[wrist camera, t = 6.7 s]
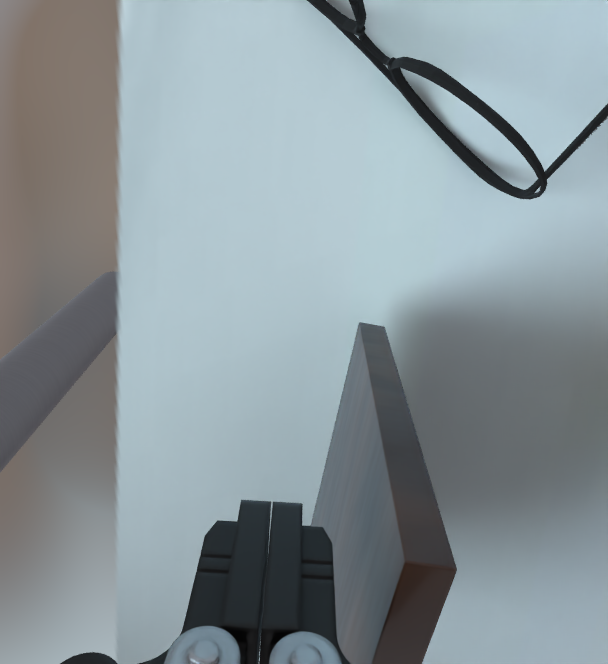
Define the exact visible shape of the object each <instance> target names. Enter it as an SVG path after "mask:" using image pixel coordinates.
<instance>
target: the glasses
mask: <svg viewBox="0 0 608 664" xmlns="http://www.w3.org/2000/svg"><path fill="white" fill-rule="evenodd" d="M307 1H309V2H310V3H311V4H312V5H313V6H314V7H315V8H317V9H318V10H319V11H320V12H321V13H322V14H324V15H325V16H326V17H327V18H328V19H330V20H331V21H332V22H333V23H334V24H335V25H336V26H337V27H338V28H339V29H340V30H341V31H342V32H343V33H344V34H345V35H346V36H347V37H348V38H349V39H350V40H351V41H352V42H353V43H354V44H355V45H356V46H357V47H358V48H359V49H360V50H361V51H362V52H363V53H364V54H365V55H366V56H367V57H368V58H369V59H370V60H371V61H372V62H373V64H374V65H375V66H376V67H377V68H378V69H379V70H380V71H381V72H382V73H383V74H384V75H385V76H386V77H387V78H388V79H389V80H390V81H391V82H392V84H393V85H394V86H395V87H396V88H397V89H398V90H399V91H400V92H401V93H402V94H403V96H404V97H405V98H406V99H407V101H408V102H409V103H410V104H411V106H412V107H413V108H414V109H415V110H416V112H417V113H418V114H419V115H420V116H421V117H422V118H423V120H424V121H425V122H426V123H427V124H428V125H429V126H430V127H431V128H432V129H433V130H434V132H435V133H436V134H437V135H438V136H439V137H440V138H441V139H442V140H443V141H444V142H445V143H446V144H447V145H448V146H449V147H450V148H451V149H452V151H453V152H454V153H455V154H456V155H457V156H458V157H459V158H460V159H461V160H462V161H463V162H464V163H465V164H466V165H467V166H468V167H469V168H470V169H471V170H473V171H474V172H475V173H476V174H477V175H478V176H479V177H480V178H482V179H483V180H484V181H485V182H487V183H488V184H490V185H491V186H493V187H495V188H496V189H498V190H500V191H502V192H504V193H506V194H509V195H511V196H514V197H517V198H520V199H533V198H537V197H540V196H541V195H542V194H543V192H544V191H545V189H546V186H547V179H548V178H549V177H550V176H551V175H552V174H553V173H554V172H555V171H556V170H557V169H558V168H559V167H560V166H561V165H562V164H563V163H564V162H565V161H566V160H567V159H568V158H569V157H570V156H571V154H572V153H573V152H574V151H575V150H576V149H578V147H579V146H581V144H583V143H584V142H585V141H586V139H587V138H589V136H590V134H591V135H592V133H593V132H594V131H596V130H597V127H599V126H601V125H600V124H601V123H603V122H604V121H605V120H606V119H607V117H608V104H607V105H606V106H605V107H604V108H603V109H602V110H601V111H600V112H599V114H598V115H597V116H596V117H595V118H594V119H593V120H592V121H591V122H590V123H589V124H588V126H587V127H586V128H585V129H584V130H583V131H582V132H581V133H580V134H579V135H578V136H577V137H576V139H575V140H574V141H573V142H572V143H571V144H570V145H569V146H568V147H567V148H566V149H565V150H564V152H563V153H562V154H561V155H560V156H559V157H558V158H557V159H556V160H555V161H554V162H553V163H552V165H551V166H550V167H549V168H548V169H547V170H546V171H545V172H544V170H543V167H542V165H541V163H540V161H539V160H538V158H537V156H536V155H535V153H534V152H533V150H532V149H531V148H530V146H529V145H528V144H527V142H526V141H525V140H524V139H523V137H522V136H521V135H520V134H519V133H518V132H517V131H516V130H515V129H514V128H513V127H512V126H511V125H510V124H509V123H508V122H507V121H506V120H504V119H503V118H502V117H501V116H500V115H499V114H498V113H497V112H495V111H494V110H493V109H492V108H491V107H489V106H488V105H487V104H486V103H484V102H483V101H482V100H481V99H479V98H478V97H477V96H476V95H474V94H473V93H472V92H470V91H469V90H468V89H467V88H465V87H464V86H463V85H461V84H460V83H459V82H458V81H456V80H455V79H453V78H452V77H451V76H449V75H448V74H447V73H445V72H444V71H443V70H441V69H439V68H437V67H435V66H433V65H431V64H429V63H427V62H424V61H420V60H416V59H413V58H409V57H401V58H397V59H396V58H394V57H393V58H391V59H390V58H389V57H387V56H386V55H385V54H384V53H383V52H381V51H380V50H379V49H378V48H377V47H376V46H375V45H374V44H373V42H372V41H371V40H370V39H369V38H368V37H367V35H366V34H365V32H364V31H365V26H364V24H365V20H366V12H365V7H364V3H363V0H349V2H350V4H351V7H352V10H353V13H354V15H355V18H356V21H354V20H352V19H349V18H348V17H346V16H345V15H343V14H342V13H340V12H339V11H338V10H337V9H335V8H334V7H333V6H332V5H330V4H329V3H328V2H327V1H326V0H307ZM354 34H355V35H358V36H359V39H360V40H359V39H358V38H357V37H356V36H355V35H354ZM384 64H385V65H387V66H388V68H387V67H386V66H385V65H384ZM400 67H401V68H403V69H406V70H408V71H411V72H413V73H416V74H418V75H420V76H422V77H424V78H426V79H428V80H430V81H432V82H434V83H436V84H437V85H439V86H441V87H443V88H444V89H446V90H448V91H449V92H451V93H452V94H453V95H455V96H456V97H458V98H459V99H460V100H462V101H463V102H465V103H466V104H467V105H469V106H470V107H472V108H473V109H474V110H475V111H477V112H478V113H479V114H480V115H482V116H483V117H484V118H485V119H486V120H488V121H489V122H490V123H491V124H492V125H493V126H494V127H496V128H497V129H498V130H499V131H500V132H501V133H502V134H503V135H504V136H505V137H506V138H507V139H508V140H509V141H510V142H511V143H512V144H513V145H514V146H515V147H516V148H517V149H518V150H519V152H520V153H521V154H522V155H523V156H524V157H525V158H526V160H527V161H528V163H529V164H530V165H531V167H532V168H533V170H534V171H535V173H536V175H537V177H538V180H537V181H536V182H535V183H534V184H533V185H532V186H531V187H529V188H528V189H526V190H522V189H519V188H517V187H514V186H512V185H510V184H509V183H508V182H506V181H505V180H503V179H502V178H501V177H499V176H498V175H497V174H496V173H495V172H493V171H492V170H491V169H490V168H489V167H488V166H486V165H485V164H484V163H483V162H482V161H481V160H480V159H479V158H478V157H477V156H475V155H474V154H473V153H472V152H471V151H470V150H469V149H468V148H467V147H466V146H465V145H464V144H463V143H462V142H461V141H460V140H459V139H458V138H457V137H456V136H455V135H454V134H453V133H452V132H451V131H450V130H448V129H447V128H446V126H445V125H444V124H443V123H442V122H441V121H440V120H439V119H438V118H437V117H436V116H435V114H434V113H433V112H432V111H431V110H430V109H429V108H428V107H427V106H426V104H425V103H424V102H423V101H422V100H421V99H420V97H419V96H418V95H417V94H416V93H415V91H414V90H413V89H412V87H411V86H410V85H409V83H408V82H407V81H406V79H405V78H404V76H403V74H402V72H401V69H400ZM388 69H389V70H388ZM540 186H541V188H540V191H539V192H537V193H535V192H536V190H537V189H538V188H539V187H540Z"/></svg>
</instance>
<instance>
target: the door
mask: <svg viewBox="0 0 608 664" xmlns="http://www.w3.org/2000/svg"><path fill="white" fill-rule="evenodd" d="M311 526H315V527H323V528H324V530H325V531H326V533H327V535H328V537H329V538H330V540H331V542H332V546H333V567H334V588H335V609H336V630H337V641H338V644H339V647H340V649H341V651H342V653H343V655H344V656H345V658H346V659H347V660H348V661H349V662H350V663H351V664H422V661H423V659H424V656H425V653H426V651H427V648H428V645H429V643H430V640H431V638H432V635H433V632H434V630H435V627H436V624H437V622H438V619H439V616H440V614H441V611H442V608H443V606H444V603H445V600H446V598H447V595H448V592H449V590H450V587H451V584H452V582H453V579H454V577H455V574H456V571H457V568H456V564H455V561H454V558H453V554H452V551H451V548H450V544H449V541H448V538H447V534H446V531H445V528H444V524H443V521H442V518H441V514H440V511H439V508H438V504H437V501H436V497H435V494H434V491H433V487H432V484H431V481H430V477H429V474H428V471H427V467H426V464H425V461H424V457H423V454H422V451H421V447H420V444H419V441H418V437H417V434H416V431H415V427H414V424H413V420H412V417H411V414H410V410H409V407H408V404H407V400H406V397H405V394H404V390H403V387H402V384H401V380H400V377H399V374H398V370H397V367H396V364H395V360H394V357H393V354H392V350H391V347H390V343H389V340H388V337H387V333H386V330H385V327H382V326H377V325H371V324H366V323H359V325H358V329H357V334H356V338H355V342H354V346H353V350H352V355H351V359H350V363H349V367H348V371H347V376H346V380H345V384H344V388H343V392H342V397H341V401H340V405H339V409H338V413H337V418H336V422H335V426H334V430H333V434H332V439H331V443H330V447H329V451H328V455H327V460H326V464H325V468H324V472H323V476H322V481H321V485H320V489H319V493H318V497H317V501H316V506H315V510H314V514H313V518H312V522H311Z"/></svg>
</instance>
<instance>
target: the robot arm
mask: <svg viewBox="0 0 608 664" xmlns="http://www.w3.org/2000/svg"><path fill="white" fill-rule="evenodd" d="M270 511H271V502H268V501H252V500H241V504H240V510H239V516H238V522H232V521H217V522H216V523H215V524H214V525H213V527H212V528H211V529H210V530H209V531H208V533H207V534H206V535H205V538H204V542H203V546H202V550H201V556H200V559H199V563H198V567H197V572H196V576H195V580H194V584H193V588H192V592H191V596H190V601H189V605H188V609H187V613H186V617H185V621H184V626H183V629H182V632H181V634H180V636H179V637H178V638H177V639H176V640H175V641H174V642H173V644H172V645H171V647H170V648H169V649H168V650H167V651H166V652H164V653H163V654H161V655H160V656H158V657H156V658H154V659H152V660H149V661H146V662H143V663H139V664H258V661H259V650H260V663H259V664H351V663H350V662H349V661H348V660H347V659H346V658H345V656H344V655H343V653H342V651H341V649H340V647H339V644H338V641H337V630H336V609H335V588H334V567H333V546H332V542H331V540H330V538H329V537H328V535H327V533H326V531H325V530H324V528H323V527H315V526H302V503H286V502H273V508H272V519H271V530H270V541H269V529H270ZM268 546H269V552H268ZM267 561H268V563H267ZM260 639H261V645H260ZM61 664H117V663H116V661H115V660H113V659H112V658H110V657H109V656H107V655H105V654H101V653H94V652H93V653H83V654H79V655H76V656H73V657H71V658H69V659H67V660H65V661H64V662H62V663H61Z"/></svg>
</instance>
